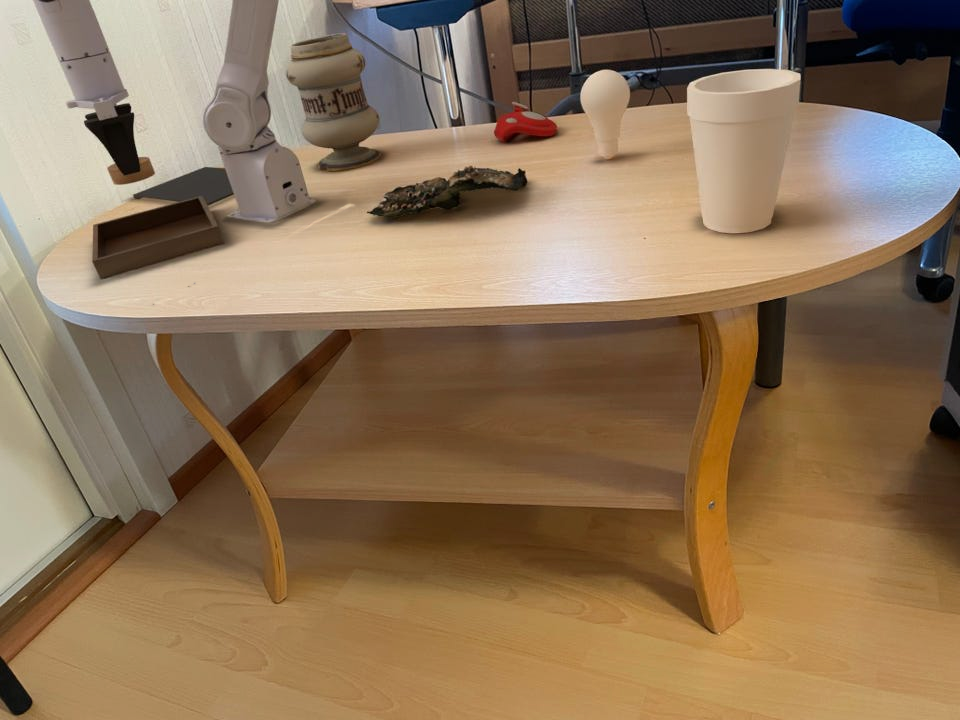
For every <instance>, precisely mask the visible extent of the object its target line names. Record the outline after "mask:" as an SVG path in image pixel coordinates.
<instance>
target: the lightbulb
mask: <svg viewBox="0 0 960 720" xmlns="http://www.w3.org/2000/svg"><path fill="white" fill-rule="evenodd" d="M579 96H580V97H579V100H580V105H581V108H582V110H583V112H584V113H585V115H586V117H587V118H588V119H589V121H590V124H591V126H592V129H593V133H594V139H595V141H596V146H597V154H598V156H599V157H601V158H603V159H604V160H611V159H613V157H615V156H617V154H618V152H619V138H620V133H621V132H620V131H621V123H622V120H623V117H624V114H625V112H626V110H627V107H628V106H629V103H630V99H631V90H630V86H629V83H628V81H627V79H626V78H625V77H624V76H623V75H622V74H621V73H620V72H617V71H615V70H612V69H601V70H598V71H596V72H594V73H592V74H591V75H590V76H589V77H588V78H586V80H585V81H584V83H583V85H582V87H581V90H580V95H579Z"/></svg>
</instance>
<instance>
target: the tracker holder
mask: <svg viewBox="0 0 960 720" xmlns="http://www.w3.org/2000/svg"><path fill="white" fill-rule="evenodd" d="M511 104H512V107H513V111H512V112H507V113H505V114H502V115H501V116H499V117H498V119H497V122H496V125H495V128H494V130H493V136H494V137H495V138H497V139H498V140H500V141H501V142H506V141H508V140H509V139H511V138H512V137H513V136H515V135H516V134H519V133H520V134H526V135H531V136H537V137H552V136H554V135H555V134H556V133H557V132H558V131H557V130H558V124H557V123H556V122H555V121H553V120H551V119H550V118H549V117H548V116H546V115H544V114H542V113H540V112H536V111H533V110H532V111H531V109H530V107H529V106H528V105H524V104H522V103H518V102H516V101H512V102H511Z"/></svg>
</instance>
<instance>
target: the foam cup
mask: <svg viewBox="0 0 960 720" xmlns="http://www.w3.org/2000/svg"><path fill="white" fill-rule="evenodd" d="M801 78H802V77H801V73H799V72H796V71H793V70H789V69H778V68H757V69H755V68H754V69H741V70H733V71H725V72H720V73H715V74H711V75H707V76H702V77H700V78H697V79H695V80H693V81H691V82H689V84H688V86H687V88H686V116H688V117H689V123H690V124H689V125H690V131H691V139H692V147H693V155H694V163H695V170H696V171H695V172H696V179H697V187H698V196H699V203H700V212H701V218H702V224H703V225H704V226H705V227H706V228H707V229H708V230H711V231H715V232H717V233H724V234H725V233H726V234H744V233H752V232H757V231H759V230H763V229H765V228H766V227H768V226H770V225H771V224H772V218H773V217H774V212H775V207H776V203H777V198H778V194H779V188H780V184H781V178H782V174H783V170H784V166H785V161H786V156H787V152H788V151H787V150H788V147H789V142H790V138H791V132H792V127H793V124H794V118H795V113H796V110H797V109H799V105H800V104H799V103H800V91H801V80H802V79H801Z"/></svg>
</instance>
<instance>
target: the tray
mask: <svg viewBox="0 0 960 720" xmlns="http://www.w3.org/2000/svg"><path fill="white" fill-rule="evenodd" d="M220 245H225V241H224V238H223V235H222V233H221V230H220V227H219V225H218V223H217V222H216V219H215V217H214V215H213V213H212V211H211V210H210V208H209V205H207V204H206V202H205V200H204V198H203V197H202V196H199V197H195V198H192V199H188V200H184V201H180V202H177V201H176V202H174V203H170V204H165V205H163V206H162V205H161V206H158V207H155V208H151V209H147V210H143V211H140V212H136V213H135V212H134V213H132V214H127V215H125V216H121V217H117V218H114V219H110V220H106V221H102V222H99V223H95V224H93V225H92V252H91V253H92V255H91V257H92V258H91V259H92V260H91V262H92V264H93V266H94V269H95V271H96V274H97V275H98V277H99V279H100V280H103V279H107V278H111V277H114V276H117V275H121V274H124V273H127V272H132V271H134V270H139V269H142V268H145V267H148V266H152V265H155V264H158V263H162V262H165V261H169V260H172V259H176V258H179V257H182V256H183V257H184V256H186V255H190V254H193V253H197V252H200V251H204V250H206V249H210V248H214V247H218V246H220Z"/></svg>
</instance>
